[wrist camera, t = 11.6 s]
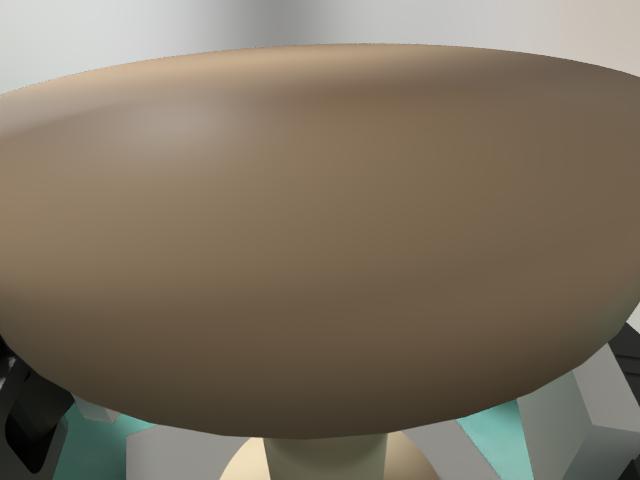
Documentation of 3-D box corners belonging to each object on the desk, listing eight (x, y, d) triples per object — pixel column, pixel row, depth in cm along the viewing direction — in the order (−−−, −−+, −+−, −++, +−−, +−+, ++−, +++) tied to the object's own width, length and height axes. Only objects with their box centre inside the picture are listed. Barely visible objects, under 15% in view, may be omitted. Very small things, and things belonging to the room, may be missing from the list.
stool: (179, 462, 16) (18, 67, 8) (379, 384, 18) (405, 34, 11) (222, 847, 9) (-842, 666, 1) (536, 627, 11) (948, 115, 4)
